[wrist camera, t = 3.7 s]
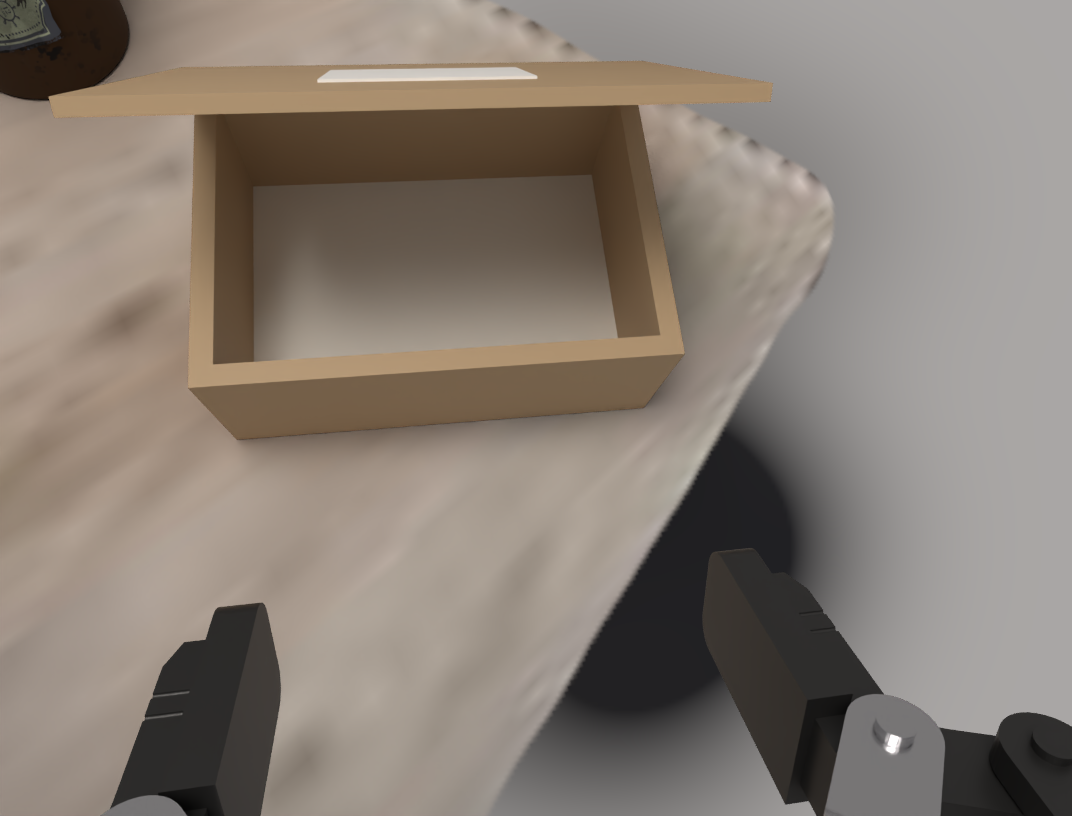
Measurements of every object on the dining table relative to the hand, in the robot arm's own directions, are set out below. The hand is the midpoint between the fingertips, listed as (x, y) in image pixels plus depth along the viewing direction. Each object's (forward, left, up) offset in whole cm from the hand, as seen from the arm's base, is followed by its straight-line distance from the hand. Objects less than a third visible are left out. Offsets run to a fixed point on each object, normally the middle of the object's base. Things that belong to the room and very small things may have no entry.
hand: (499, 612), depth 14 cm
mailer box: (-17, +10, -26) cm, 32 cm away
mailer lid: (-19, +11, -12) cm, 25 cm away
